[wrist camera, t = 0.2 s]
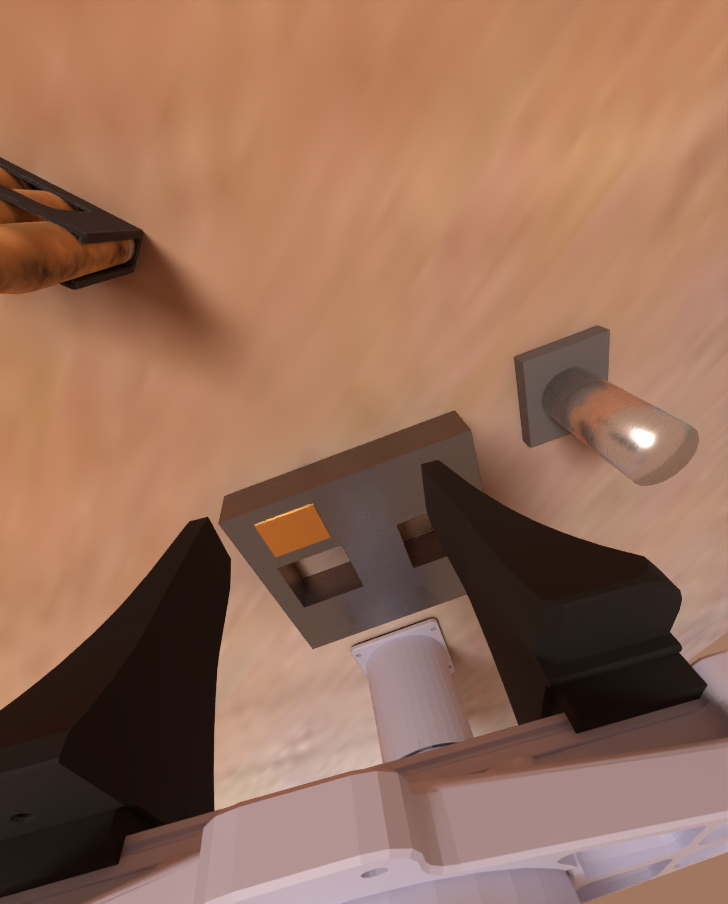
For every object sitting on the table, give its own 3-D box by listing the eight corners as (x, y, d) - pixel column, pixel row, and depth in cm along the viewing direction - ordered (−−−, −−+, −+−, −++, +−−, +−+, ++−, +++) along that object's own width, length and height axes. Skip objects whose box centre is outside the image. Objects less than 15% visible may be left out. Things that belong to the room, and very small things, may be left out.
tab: (595, 413, 25) (606, 420, 25) (522, 440, 26) (530, 448, 25) (597, 325, 22) (609, 330, 21) (514, 356, 22) (523, 362, 21)
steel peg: (592, 406, 24) (692, 470, 18) (543, 424, 24) (626, 494, 18) (593, 359, 22) (704, 413, 16) (540, 378, 22) (631, 439, 16)
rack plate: (486, 557, 31) (501, 583, 29) (311, 619, 32) (312, 650, 29) (454, 410, 24) (471, 431, 21) (224, 496, 24) (218, 524, 22)
